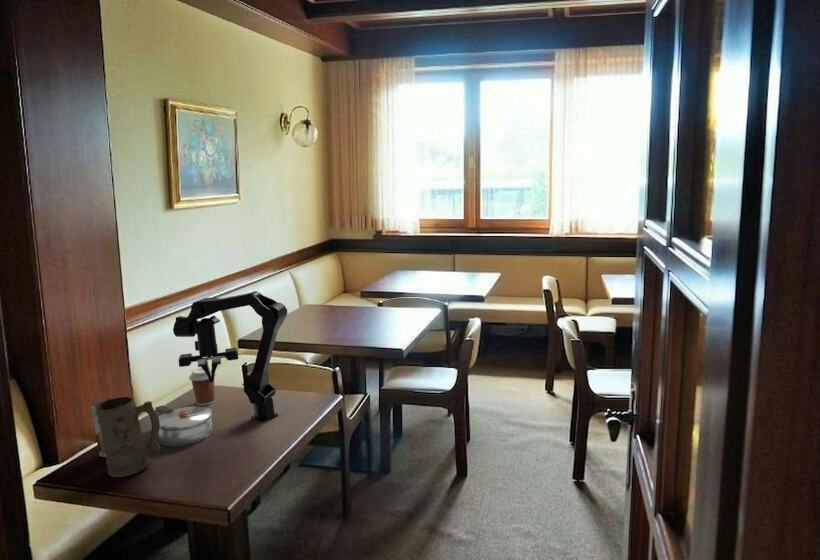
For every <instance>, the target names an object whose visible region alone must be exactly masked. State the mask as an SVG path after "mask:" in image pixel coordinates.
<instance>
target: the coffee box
mask: <svg viewBox="0 0 820 560" xmlns="http://www.w3.org/2000/svg"><path fill="white" fill-rule="evenodd" d="M110 399H114V398H112V397H106V398H103V399H102V400H99V401H98V402H96V403H94V404H93V403H92V404H91V405H90V408H91V414H92V419H93V425H94V431H95V438H96V444H97V450H98V456H99V457H103V458H106V454H105V449H104V444H103V439H102V433H101V428H100V423H99V419H98V417H97V415H96V407H97V405H98V404H100V403H102V402H104V401H106V400H110Z"/></svg>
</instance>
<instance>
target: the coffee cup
mask: <svg viewBox="0 0 820 560" xmlns="http://www.w3.org/2000/svg"><path fill="white" fill-rule="evenodd" d="M209 370H210V373H211V371H212V367H209ZM216 376H217V373H216V372H215V375H214V378H215V377H216ZM188 379H189V380H190V381H191V384H192V389H193V393H194V399H195V403H197V404H198V405H197V404H196V405H197V406H201V405H203V406H208V405H207V404H209V405H212V404H214V403H215V402H216V396H215V395H216V392H215V388H216V387H215V379H214V380H213V382H210V380H209V378H208V377H207V375H206V373H205V371H204V370H203V369H202V367H198V368H195V369H193V370H192V371H191V374H190V375H189V377H188ZM213 402H214V403H213ZM211 403H212V404H211Z"/></svg>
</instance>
